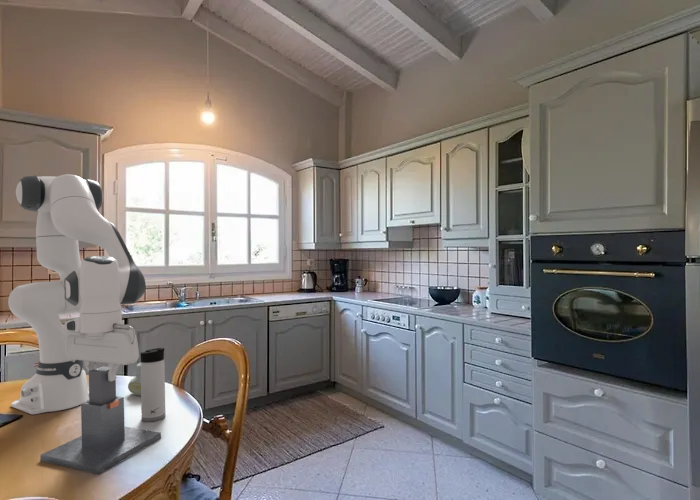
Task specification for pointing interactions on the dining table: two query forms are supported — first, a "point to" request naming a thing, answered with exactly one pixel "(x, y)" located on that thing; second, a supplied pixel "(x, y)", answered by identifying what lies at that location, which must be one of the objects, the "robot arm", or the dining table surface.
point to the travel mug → (152, 385)
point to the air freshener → (136, 382)
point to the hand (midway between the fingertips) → (102, 379)
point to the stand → (101, 439)
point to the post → (101, 386)
